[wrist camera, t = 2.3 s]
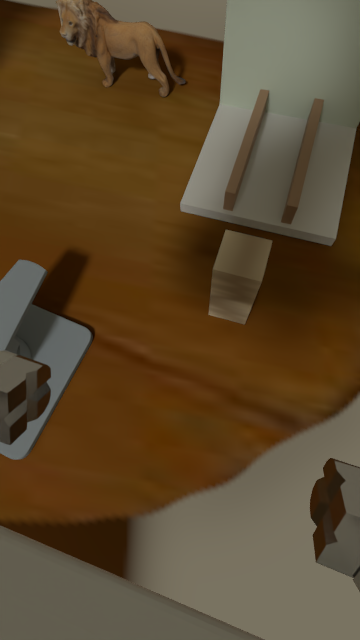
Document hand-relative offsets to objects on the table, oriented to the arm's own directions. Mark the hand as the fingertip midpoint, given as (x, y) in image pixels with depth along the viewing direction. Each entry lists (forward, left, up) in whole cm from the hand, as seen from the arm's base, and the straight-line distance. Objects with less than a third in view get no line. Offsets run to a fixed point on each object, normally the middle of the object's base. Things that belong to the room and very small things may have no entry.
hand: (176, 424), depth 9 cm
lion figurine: (-21, +40, -19) cm, 49 cm away
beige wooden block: (0, +13, -19) cm, 23 cm away
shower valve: (-18, +2, -20) cm, 27 cm away
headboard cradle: (0, +32, -19) cm, 37 cm away
